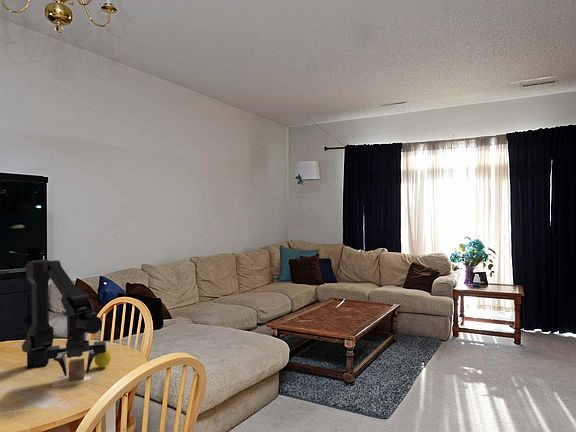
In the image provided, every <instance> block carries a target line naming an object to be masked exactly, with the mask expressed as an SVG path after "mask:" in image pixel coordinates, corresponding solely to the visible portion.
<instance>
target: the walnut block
mask: <svg viewBox="0 0 576 432" xmlns="http://www.w3.org/2000/svg"><path fill="white" fill-rule="evenodd" d="M84 373H85V358H84V357H83V358H75V359H69V362H68V375H69V382H71V381H78V380H84Z"/></svg>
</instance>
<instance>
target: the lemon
mask: <svg viewBox="0 0 576 432" xmlns="http://www.w3.org/2000/svg"><path fill="white" fill-rule="evenodd" d="M111 354H112V353H111V352H110V350H109V348H107V347H106V352H105V353H99V354H98V355H97V356H94V364H95V365H96V366H97V367H99V368H101V369H105V367H107V366H108V365H109V364H110V362H111V359H112V355H111Z"/></svg>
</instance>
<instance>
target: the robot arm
mask: <svg viewBox="0 0 576 432" xmlns="http://www.w3.org/2000/svg"><path fill="white" fill-rule="evenodd" d="M24 268H25V269H24V270H25V273H26V279H27V280H28V282H29V283H30V284H31V309H32V310H31V313H32V314H31V319H32V322H31V325H30V327H29V328H28V329H27V332H26V333H27V334H26V338H25V340H24V341H23V343H22V345H21V349H22V352H23V353H26V367H25V370H29V369H30V370H31V369H38V368H39V369H41V368H45V367H47V365H49V362H50V360H53V361H54V362H57V363H58V364H59V365H60V367H61V369H62V372H63V375H65V376H67V375H68V374H67V373H68V372H67V371H68V367H67V359H71V358H76V357H77V358H80V357H82V356H83V354H84V353H86V352H88V355H87V362H86V363H87V364H86V372H87V374H88V372H90V368H91V365H92V362H93V360H94V359H95V356H97V355H98V354H99V353H105V352H106V348H107V342H106V341H105V340H101V341H99V340H98V341H93V344H91V345H90V341H89V339H86V334H91V335H95V334H97V333H98V332H100V331H101V328H102V325H103V321H102V320H101V318H100V317H99V316H97V312H95V308H94V305H93V303H92V301H91V300H90V297H89V295H88V293H86V291H84V290H83V288H80V287H78V286H76V285H75V284H74V282H73V281H72V280H71V278H70V277H69V275H68V273H66V271H65V269H64V268H63V266H62V263H61V261H60V260H49V259H38V260H30V261H28V263H27V264H26V265H25V267H24ZM50 280H51V281H52V283H53V284H54V285H55V287H56V289H57V290H58V292H59V293H60V295H61V299H60V302H61V304H62V306H63V308H64V310H65V312H64V313H63V316H64V317H66V336H67V337H66V344H65V347H60V345H53V343H54V337H55V335H54V327H53V326H51V325H50V323H49V321H48V283H49V282H50ZM66 358H67V359H66Z"/></svg>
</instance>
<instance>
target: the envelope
mask: <svg viewBox="0 0 576 432" xmlns="http://www.w3.org/2000/svg"><path fill="white" fill-rule="evenodd" d="M99 377H100V370H94V371H89V372H88V374H87V371H84V380H78V381H71V382H69V374H67V376H65V375H64V374H63V375H56V376H55V378H54V380H53V383H52V385H51V387H52V388H55V387H62V386H71V385H78V384H85V383H91V382H99V379H100V378H99Z"/></svg>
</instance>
